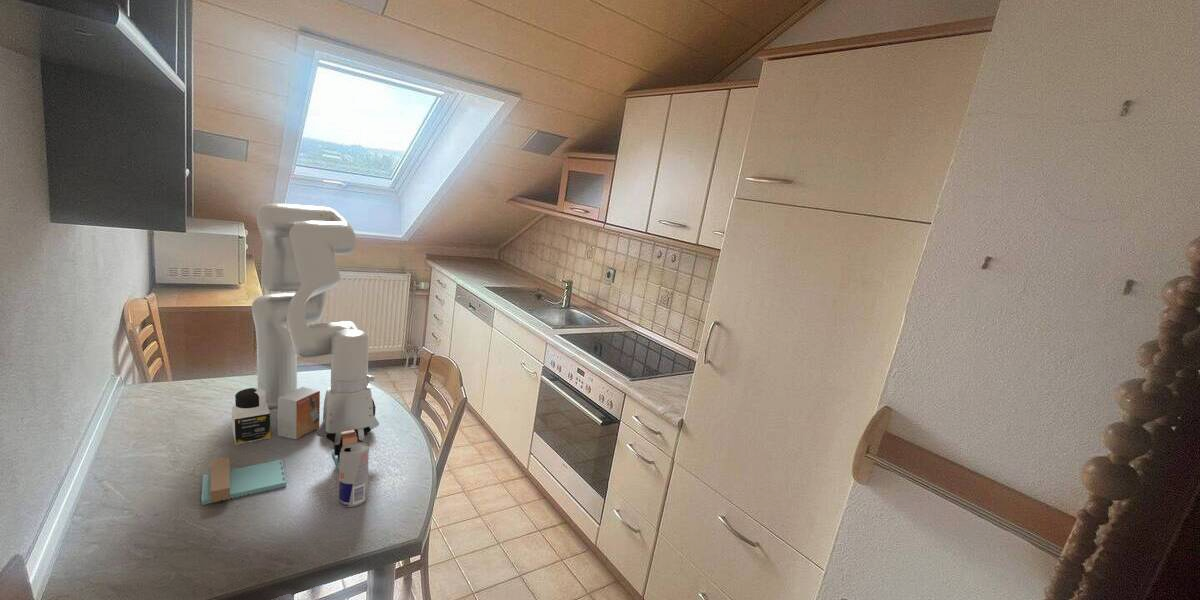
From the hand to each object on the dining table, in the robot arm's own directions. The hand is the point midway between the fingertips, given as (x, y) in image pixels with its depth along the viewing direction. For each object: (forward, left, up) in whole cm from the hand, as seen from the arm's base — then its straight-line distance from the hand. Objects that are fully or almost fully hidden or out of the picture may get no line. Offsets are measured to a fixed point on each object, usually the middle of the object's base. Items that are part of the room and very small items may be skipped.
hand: (348, 454), depth 114 cm
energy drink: (+16, -2, -2) cm, 16 cm away
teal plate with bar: (0, -20, -2) cm, 20 cm away
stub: (0, 0, -2) cm, 2 cm away
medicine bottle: (-22, -18, -2) cm, 28 cm away
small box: (-20, -8, -2) cm, 22 cm away
